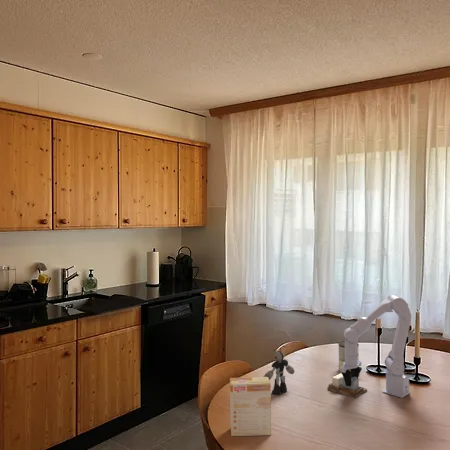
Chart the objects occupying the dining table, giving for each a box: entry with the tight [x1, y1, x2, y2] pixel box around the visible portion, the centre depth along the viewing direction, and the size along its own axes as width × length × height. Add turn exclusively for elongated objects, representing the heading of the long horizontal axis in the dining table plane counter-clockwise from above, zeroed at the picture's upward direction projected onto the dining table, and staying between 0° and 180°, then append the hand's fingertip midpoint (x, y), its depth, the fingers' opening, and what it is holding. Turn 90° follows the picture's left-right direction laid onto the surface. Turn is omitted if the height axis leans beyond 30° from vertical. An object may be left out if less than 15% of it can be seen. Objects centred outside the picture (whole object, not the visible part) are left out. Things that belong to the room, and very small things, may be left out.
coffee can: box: [337, 340, 360, 372], centre depth 235 cm, size 10×10×14 cm
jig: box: [327, 382, 368, 399], centre depth 207 cm, size 14×11×2 cm
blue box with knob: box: [343, 377, 360, 391], centre depth 206 cm, size 6×4×6 cm, turn 43°
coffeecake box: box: [229, 376, 272, 437], centre depth 168 cm, size 15×7×20 cm, turn 92°
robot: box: [263, 347, 295, 396], centre depth 206 cm, size 20×5×20 cm, turn 128°
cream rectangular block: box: [331, 372, 344, 387], centre depth 211 cm, size 3×8×5 cm, turn 135°
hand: (351, 384), depth 206 cm, fingers open, 5 cm apart
